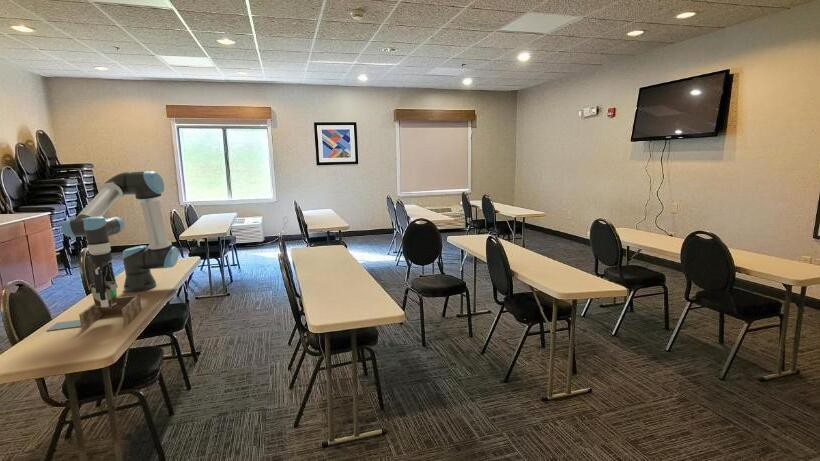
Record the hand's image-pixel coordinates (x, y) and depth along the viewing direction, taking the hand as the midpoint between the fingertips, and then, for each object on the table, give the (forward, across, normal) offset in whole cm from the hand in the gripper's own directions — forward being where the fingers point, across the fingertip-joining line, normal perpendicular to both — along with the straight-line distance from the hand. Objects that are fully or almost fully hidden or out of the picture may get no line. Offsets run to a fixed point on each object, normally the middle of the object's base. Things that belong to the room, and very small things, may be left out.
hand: (109, 303), depth 180 cm
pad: (+8, -1, -16) cm, 18 cm away
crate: (+8, -2, 0) cm, 8 cm away
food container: (+1, 0, 0) cm, 1 cm away
